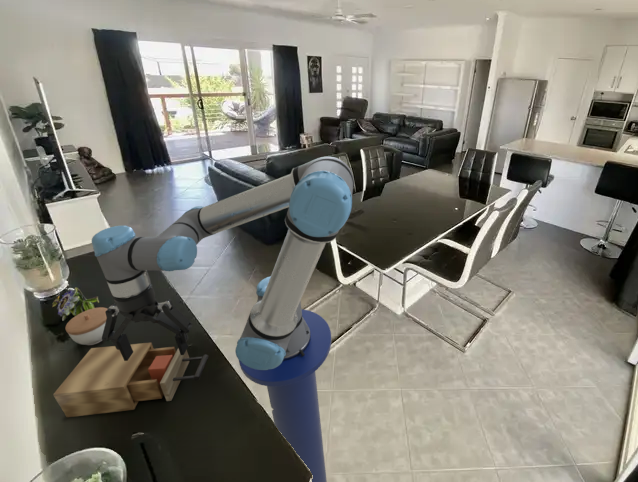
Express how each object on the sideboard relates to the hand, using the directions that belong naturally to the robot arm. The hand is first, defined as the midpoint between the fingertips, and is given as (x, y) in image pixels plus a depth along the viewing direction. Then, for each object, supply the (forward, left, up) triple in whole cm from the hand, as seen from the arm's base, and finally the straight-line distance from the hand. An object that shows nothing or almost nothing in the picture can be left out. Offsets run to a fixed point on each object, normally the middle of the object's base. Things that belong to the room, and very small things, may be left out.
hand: (157, 353), depth 84 cm
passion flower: (+53, +7, -11) cm, 55 cm away
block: (0, 0, -9) cm, 9 cm away
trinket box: (+35, +7, -11) cm, 38 cm away
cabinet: (+9, +9, -11) cm, 17 cm away
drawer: (0, 0, -10) cm, 10 cm away
